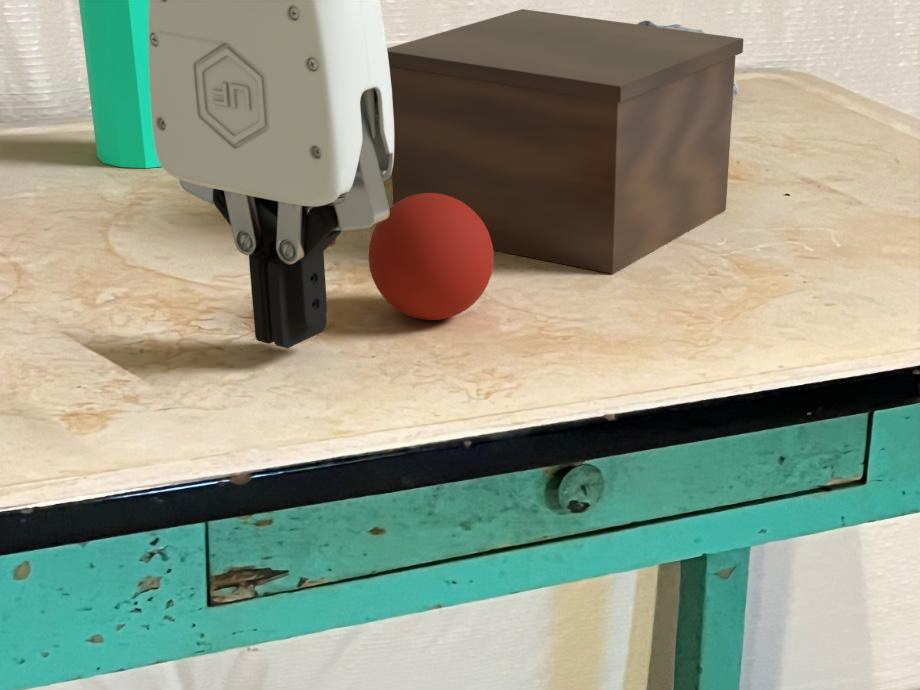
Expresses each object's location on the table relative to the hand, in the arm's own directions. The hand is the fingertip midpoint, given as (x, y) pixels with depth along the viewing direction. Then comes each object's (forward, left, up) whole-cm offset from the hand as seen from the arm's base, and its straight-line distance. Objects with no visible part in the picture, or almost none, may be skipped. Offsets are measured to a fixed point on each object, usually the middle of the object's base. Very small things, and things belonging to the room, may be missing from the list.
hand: (291, 335), depth 78 cm
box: (+20, +16, -1) cm, 25 cm away
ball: (+8, +3, +2) cm, 8 cm away
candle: (0, +37, -1) cm, 37 cm away
